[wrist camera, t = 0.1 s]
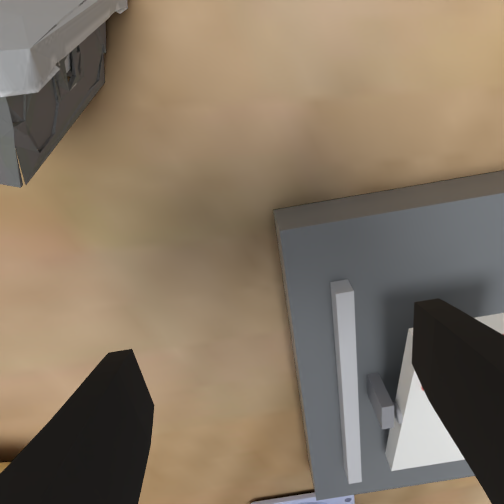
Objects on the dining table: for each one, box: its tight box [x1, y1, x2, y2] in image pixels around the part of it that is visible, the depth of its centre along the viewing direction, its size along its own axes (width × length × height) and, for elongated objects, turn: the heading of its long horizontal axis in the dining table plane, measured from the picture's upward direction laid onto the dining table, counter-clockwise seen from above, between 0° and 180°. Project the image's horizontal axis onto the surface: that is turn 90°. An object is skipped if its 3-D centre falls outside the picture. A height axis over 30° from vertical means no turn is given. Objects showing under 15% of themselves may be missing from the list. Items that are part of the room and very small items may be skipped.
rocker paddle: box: [385, 313, 504, 471], centre depth 19 cm, size 12×5×1 cm, turn 9°
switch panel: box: [273, 170, 504, 501], centre depth 21 cm, size 20×14×5 cm
